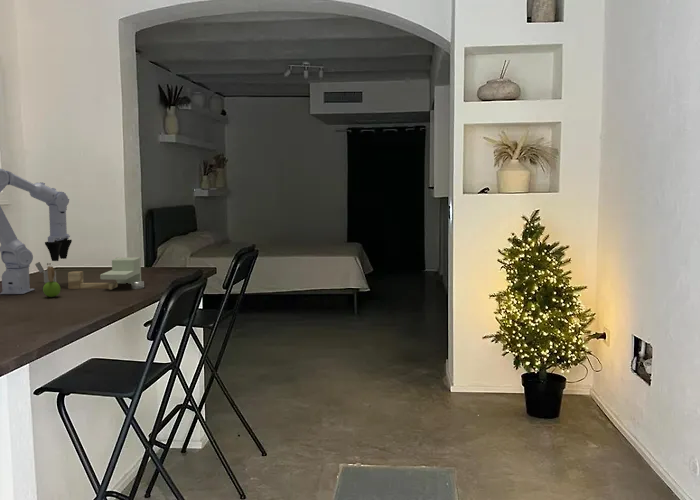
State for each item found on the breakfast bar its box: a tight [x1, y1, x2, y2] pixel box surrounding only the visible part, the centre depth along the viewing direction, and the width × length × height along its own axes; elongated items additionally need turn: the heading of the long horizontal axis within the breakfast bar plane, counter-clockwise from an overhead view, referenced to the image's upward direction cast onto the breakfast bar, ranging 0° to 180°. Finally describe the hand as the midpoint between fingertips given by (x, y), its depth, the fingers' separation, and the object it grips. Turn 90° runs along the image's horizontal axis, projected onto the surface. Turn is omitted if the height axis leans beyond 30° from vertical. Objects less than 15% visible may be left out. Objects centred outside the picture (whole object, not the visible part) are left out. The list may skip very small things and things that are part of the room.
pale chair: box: [99, 256, 142, 285], centre depth 238 cm, size 20×9×10 cm, turn 3°
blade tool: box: [67, 270, 119, 290], centre depth 235 cm, size 7×16×6 cm, turn 93°
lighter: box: [34, 261, 57, 284], centre depth 248 cm, size 7×2×8 cm, turn 100°
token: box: [131, 280, 145, 290], centre depth 236 cm, size 4×4×2 cm
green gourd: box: [42, 262, 61, 298], centre depth 214 cm, size 5×6×12 cm
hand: (59, 259), depth 238 cm, fingers open, 7 cm apart
